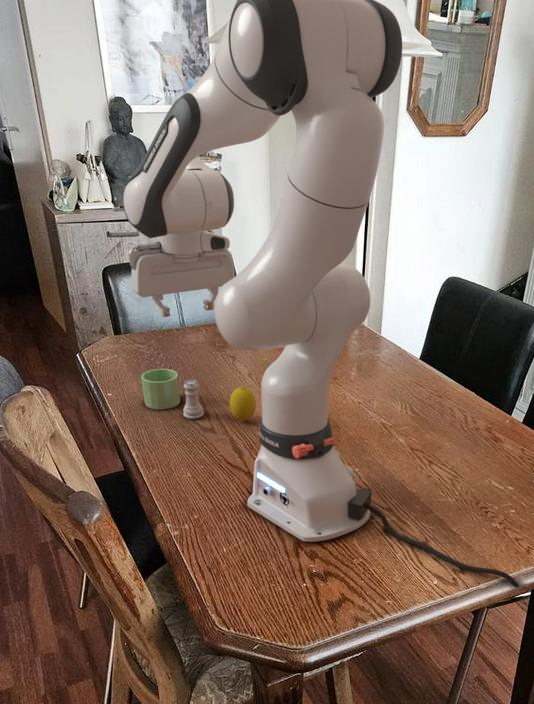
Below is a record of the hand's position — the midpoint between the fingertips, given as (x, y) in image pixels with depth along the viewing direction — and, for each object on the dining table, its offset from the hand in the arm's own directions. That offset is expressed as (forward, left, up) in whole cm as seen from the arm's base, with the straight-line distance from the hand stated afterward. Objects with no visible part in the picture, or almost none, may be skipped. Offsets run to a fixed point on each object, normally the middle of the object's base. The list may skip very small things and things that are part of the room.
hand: (187, 312), depth 126 cm
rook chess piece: (+1, 0, -23) cm, 23 cm away
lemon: (-7, -8, -23) cm, 25 cm away
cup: (+11, +3, -23) cm, 26 cm away
